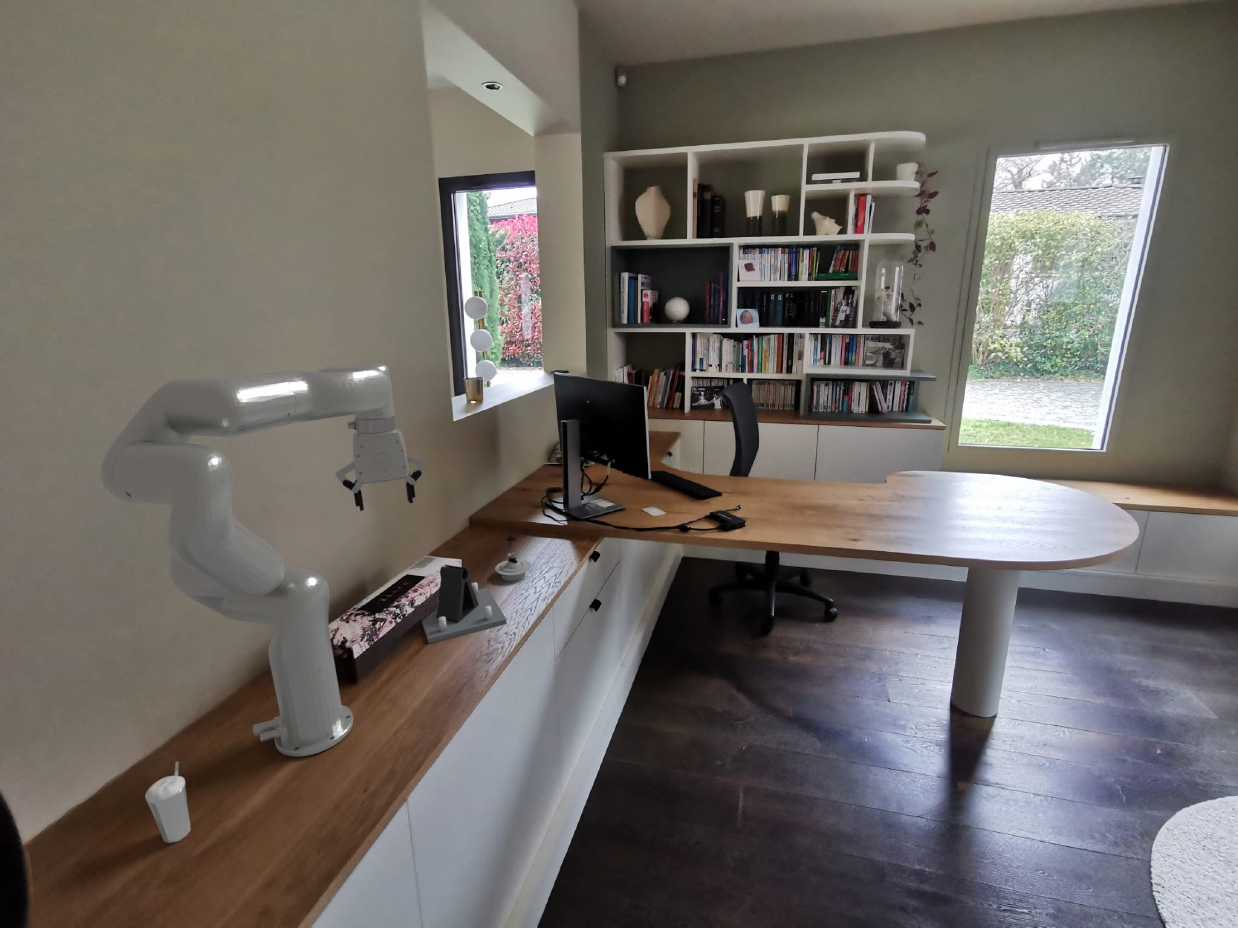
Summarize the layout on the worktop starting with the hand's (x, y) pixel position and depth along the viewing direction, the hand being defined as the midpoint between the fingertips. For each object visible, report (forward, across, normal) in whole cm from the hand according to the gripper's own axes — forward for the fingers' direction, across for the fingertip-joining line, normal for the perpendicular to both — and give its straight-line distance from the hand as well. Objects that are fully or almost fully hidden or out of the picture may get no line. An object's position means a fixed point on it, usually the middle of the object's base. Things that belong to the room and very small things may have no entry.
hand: (386, 505), depth 125 cm
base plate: (+33, +14, +7) cm, 37 cm away
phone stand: (+32, +14, +7) cm, 36 cm away
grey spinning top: (+34, +32, +22) cm, 51 cm away
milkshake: (+34, -36, -36) cm, 61 cm away
